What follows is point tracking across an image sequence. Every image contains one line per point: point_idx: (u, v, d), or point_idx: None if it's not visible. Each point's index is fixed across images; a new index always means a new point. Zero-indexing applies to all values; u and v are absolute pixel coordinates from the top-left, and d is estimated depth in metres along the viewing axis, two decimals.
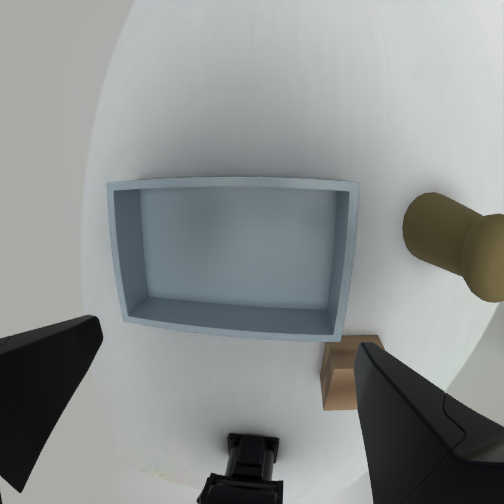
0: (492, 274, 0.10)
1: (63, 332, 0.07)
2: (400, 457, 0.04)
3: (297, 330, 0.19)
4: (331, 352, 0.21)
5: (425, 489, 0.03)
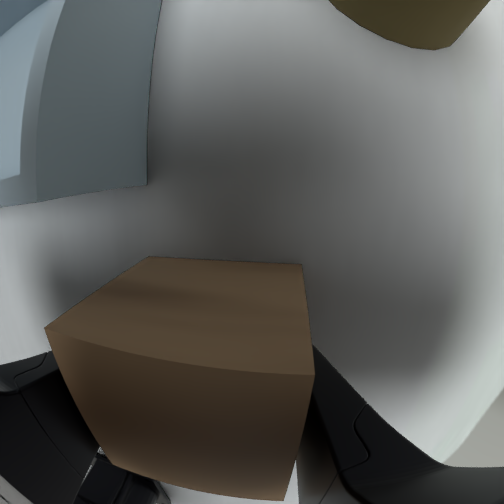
0: None
1: None
2: (311, 466, 0.04)
3: None
4: (101, 288, 0.06)
5: None
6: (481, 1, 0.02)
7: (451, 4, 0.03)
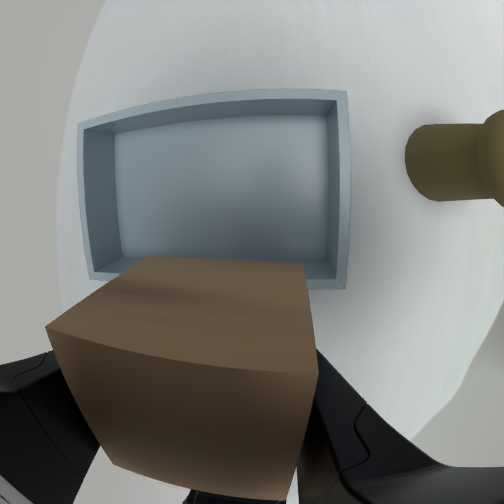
0: None
1: None
2: (311, 466, 0.04)
3: None
4: (102, 286, 0.06)
5: None
6: None
7: None
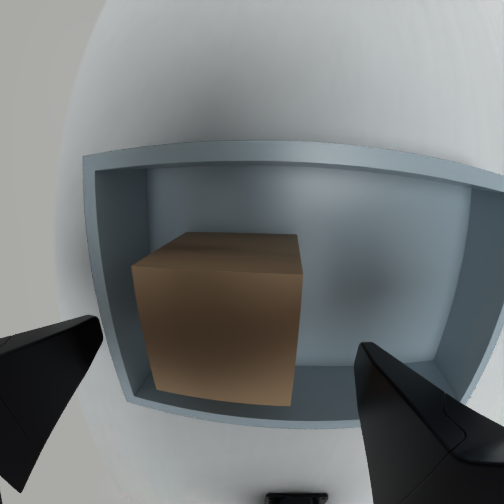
0: None
1: (63, 332, 0.07)
2: (400, 457, 0.04)
3: None
4: (161, 247, 0.10)
5: (425, 489, 0.03)
6: None
7: None
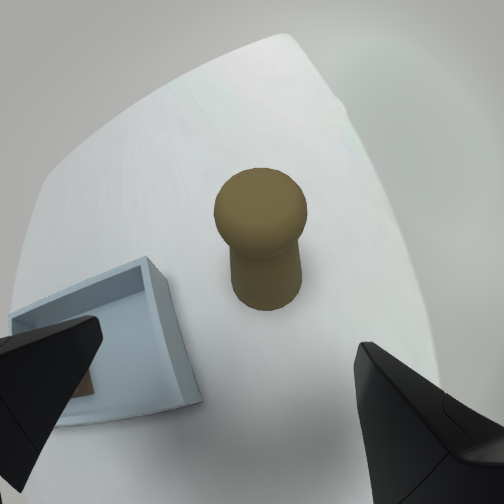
0: (230, 211, 0.14)
1: (63, 332, 0.07)
2: (400, 457, 0.04)
3: None
4: None
5: (425, 489, 0.03)
6: (293, 278, 0.20)
7: (283, 290, 0.20)
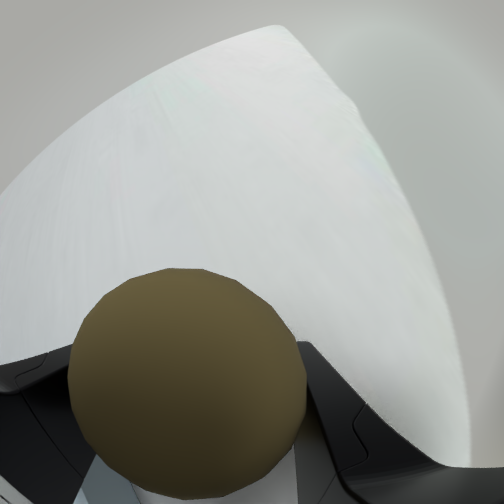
0: (86, 423, 0.04)
1: None
2: (310, 466, 0.04)
3: None
4: None
5: None
6: None
7: None
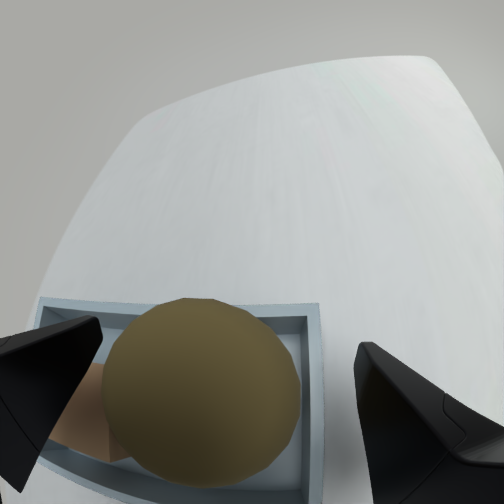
0: (121, 430, 0.05)
1: (63, 332, 0.07)
2: (400, 457, 0.04)
3: None
4: None
5: (425, 489, 0.03)
6: None
7: None
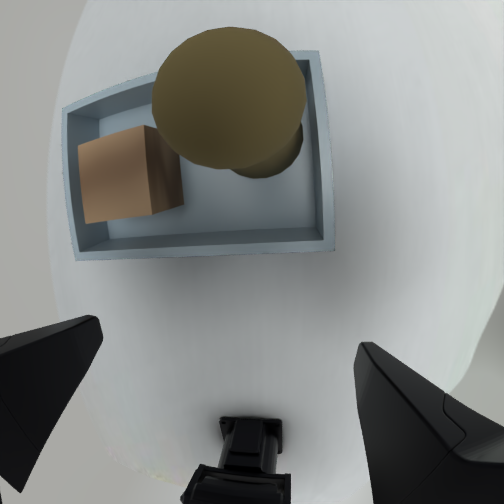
0: (173, 124, 0.07)
1: (63, 332, 0.07)
2: (400, 457, 0.04)
3: (274, 240, 0.15)
4: None
5: (425, 489, 0.03)
6: (291, 151, 0.14)
7: (278, 165, 0.15)
